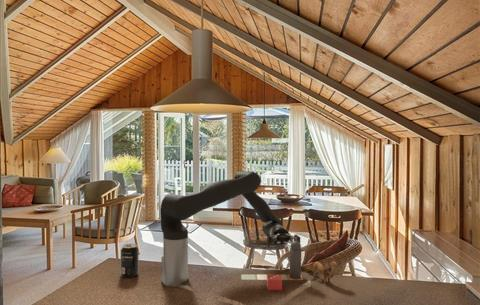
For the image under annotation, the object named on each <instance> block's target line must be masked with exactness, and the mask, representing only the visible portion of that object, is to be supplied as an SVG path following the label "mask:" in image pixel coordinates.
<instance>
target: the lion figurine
mask: <svg viewBox="0 0 480 305" xmlns="http://www.w3.org/2000/svg"><path fill="white" fill-rule="evenodd" d="M340 271H341V267H340V266H338V264H337V262H336V261H330V262H327V263H325V264H322V263H321V262H320V261H315V262H314V263H313V265H312V270H311V272H310V274H312V276H313V277H312V278H313V279H312V281H317V278H318V275H316V274H319V275H320V276H323V285H324V286H326V287H327V286H328V285H331V284H332V281H331V279H332V278H334V276H337V275H338V273H339V272H340Z"/></svg>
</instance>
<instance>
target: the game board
mask: <svg viewBox="0 0 480 305" xmlns="http://www.w3.org/2000/svg"><path fill="white" fill-rule="evenodd" d="M267 275H268V274H241V275H240V278H241V280H242V281H247V280H248V281H261V280H262V281H267ZM280 275H281V277H282V281H304V278H303V276H302V275H301V278H300V279H292V278H290V277H289V274H280ZM311 287H312V283H311V281H310V280H307V281H305V282H304V283H303V284H301V285H300V286H299V288H311Z"/></svg>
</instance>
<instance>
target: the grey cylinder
mask: <svg viewBox="0 0 480 305" xmlns="http://www.w3.org/2000/svg"><path fill="white" fill-rule="evenodd" d="M301 247H302V245H301V242H300V243H299V242H298V241H294V240H293V242H292V243H291V244H290V248H289V272H288V273H289V274H288V275H289V277H290V278H292V279H300V278H301V276H302V248H301Z"/></svg>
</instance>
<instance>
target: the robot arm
mask: <svg viewBox="0 0 480 305" xmlns="http://www.w3.org/2000/svg"><path fill="white" fill-rule="evenodd" d="M261 183H262V179H261V176H260V175H259V174H258V173H257V172H255V171H246V170H245V171H238V172H236V174H235V175H234V177H233V178H232V179H231V178H230V179H224V180H217V181H213V182H211V183H209V184H206V185H205V186H204V187H203V188H202V189H201V190H200V191H199V192H197V193H194V194H189V195H180V194H171V193H170V194H167V195H166V196H164V198H163V199H162V200H161V203H160V213H159V214H160V229H161V231H162V237H163V238H162V240H163V242H162V243H163V244H162V245H163V246H162V250H163V251H162V256H161V263H160V264H161V266H160V267H161V276H160V277H161V279H160V280H161V283H163V285H164V286H167V287H173V288H174V287H181V286H184V285H186V284H185V283H184V282H186V281H188V278H189V277H188V276H189V273H188V272H189V231H188V229H187V228H186V227H185V226H184V223H182V221H184V220H187V219H189V218H191V217H193V216H195V215H196V214H198V213H199V212H202V211H205V210H207V209H210V208H212V207H215V206H218V205H220V204H222V203H225V202H227V201H229V200H232V199H235V198H236V197H238V196H241V195H242V196H243V197H244V199H245V200H246V201H247V202H248V203H249V204H250V206H251V207H252V208H253V210H254V211H255V213H256V215H257V216H258V219H259V220H260V221H261V222H262V223H263V225H262V226H261V229H262V232H263V233H264V235H265V236H266V243H267V244H273V245H275V246H278V245H280V246H281V245H285V244H290V245H291V243H292V242H293V241H298V242H299V243H300V244H301V237H300V236H299V235H298V234H294V235H292V234H290V233H289V231H288V230H287V229H286V228H285V227H284V223H283V221H282V220H281V219H280V218H279V217H278V216H276V215H275V214H274V212H273V211H272V209H271V208H270V207H271V206H269V204H268V202H266V201H265V199H263V198H262V197H261V196H259V194H257V193H256V192H255V191H257V190H258V189H259V187H260V185H261Z"/></svg>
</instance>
